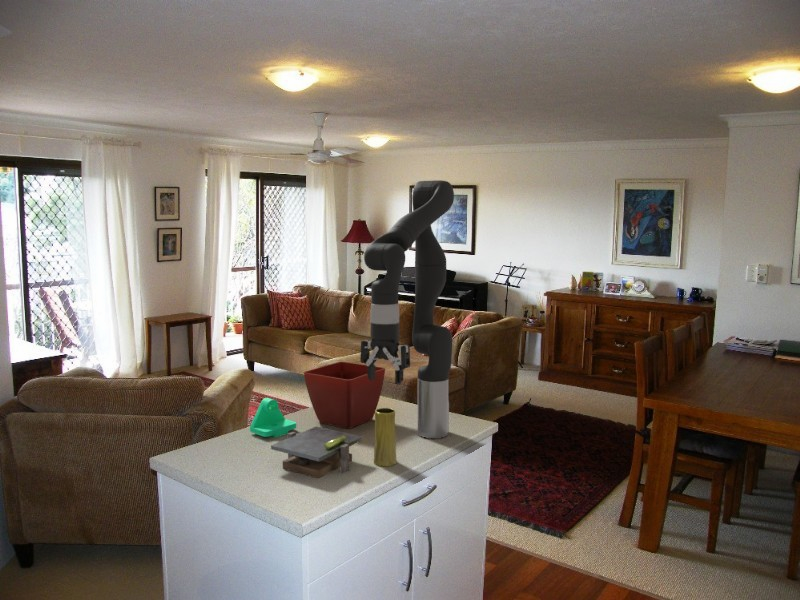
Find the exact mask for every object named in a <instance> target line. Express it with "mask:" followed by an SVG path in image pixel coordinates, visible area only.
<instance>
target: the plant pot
mask: <svg viewBox="0 0 800 600" xmlns="http://www.w3.org/2000/svg"><path fill="white" fill-rule="evenodd" d="M385 373H386V368H385V367H383V366H376V365H375V379H374V380H369V378H368V376H367V365H366V364H364V363H355V362H348V361H338V362H334V363H330V364H327V365H322V366H320V367H316V368H312V369H309V370H305V371H304V372H303V376H304V382H305V386H306V390H307V393H308V398H309V400H310V403H311V406H312V409H313V411H314V413H315V417H316V418H317V420H318V422H319V423H320V424H325V425H330V426H334V427H338V428H344V429H352V428H354V427H356V426H359V425H361V424H364V423H367V422H368V421H372V420H373V418H374V417H375V410H376V409H378V404H379V400H380V397H381V394H382V390H383V384H384V379H385Z"/></svg>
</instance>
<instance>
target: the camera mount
mask: <svg viewBox="0 0 800 600" xmlns="http://www.w3.org/2000/svg"><path fill="white" fill-rule="evenodd" d="M296 428H297V422H296V421H294V420H290V419H287V418H285V417H284V415H283V413H282V411H281V409H280V408H279V402H278V400H275V399H273V398H269V397H264V398H263V399H262V400H261V401H260V403H259V406H258V408H257V410H256V413H255V415H254V417H253V419H252V421H251V424H250V425H249V432H250V433H253V434H255V435H258V436H261V437H264V438H268V437H274V438H278V437H281V436H285V435H288V433H289V431H291V430H295V429H296Z"/></svg>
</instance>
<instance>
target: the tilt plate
mask: <svg viewBox="0 0 800 600" xmlns="http://www.w3.org/2000/svg"><path fill="white" fill-rule="evenodd" d="M361 441H363V436H362V435H357V434H353V433H349V432H344V431H343V432H342V431H338V430H334V429H330V428H325V427H320V426H314V427H312V428H310V429H307V430H305V431H302V432H299V433H296V435H295V436H292V437H290V438H288V437H287V438H285V439H284V440H280V441H279V442H276V443H274V444H272V445H270V450H273V451H276V452H281V453H285V454H287V455H288V454H291V455H295V456H299V457H303V458H307V459H311V460H315V461H321V460H324V459H326V458H328V457H330V456H332V455H334V454H336V453H338V452H340V451H341V446H342V445H344V444H348V445H349V448H350V447H352V446H353V445H355V444H358V443H359V442H361Z"/></svg>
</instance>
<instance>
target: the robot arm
mask: <svg viewBox="0 0 800 600" xmlns="http://www.w3.org/2000/svg"><path fill="white" fill-rule="evenodd" d="M411 198H412V211H411V212H409V213H407V214H405V215H404V216H402V217H401V218H400V219H398V220H397V221H396V223H395V224H394V225H393V226H392V227H391V228H390V229H389V231H387V232H385V233H384V234H382V235H381V236H378V238H376V239H375V240H373V241H372V242H370V243H369V245H368V246H367V247H366V249H365V251H364V256H363V260H364V264H365V266H366V267H367V268H368V269H370V270H371V271H380V272H381V271H382V272H386V273H385V276H384V278H383V279H377V280H375V281H373V282H372V283H371V288H370V289H371V290H370V292H371V293H370V294H371V302H370V305H371V306H370V311H369V312H370V318H369V319H370V339H371V340H370V339H364V340H361V342H360V364H364V365H367V376H368V378H369V380H374V379H375V366H376V365H375V364H376V363H377V361H378V360H382V359H383V360H384V361H389V362H390V364H392V365H393V368H394V369H395V370H394V372H395V373H394V384H395V385H398V386H399V385H402V382H404V370H405V369H408V368H410V367H411V347H410V345H409V344H404V345H403V344H402V345H401V344H400V343H399V339H400V307H399V287H400V283H401V278H402V274H403V271H404V267H405V263H406V254H405V253H406V252H407V251H408V250H409V249H410V248H411V246H412V245H413V244H414V246H415V249H414V252H415V253H414V255H415V256H414V257H415V258H414V278H415V280H414V283H415V284H414V285H415V286H414V287H415V288H414V291H415V292H414V312H413V323H412V332H411V335H412V337H411V339H412V347H413V348H414V351H416V352H417V353H419V354H422V355H426V356H428V362H427V365H424V366H421V367H419V368H418V370H417V421H416V422H417V423H416V424H417V430H416V432H417V433H416V434H417V435H418V436H419V437H421V436H422V437H421V438H424V437H426V439H431V438H435V439H441V437H443V438H445V437H444V436H446V437H447V436H448V434H449V430H450V402H449V381H450V380H449V375H450V371H451V369H452V359H453V335H452V332H451V330H450V329H449V328H448V327H446V326H443V325H439V324H438V325H437V324H434V315H435V312H434V311H435V306H436V303H437V301H438V298H439V297H440V295H441V293H442V292H443V289H444V287H445V285H446V282H447V257H446V254H445V252H444V249H443V248H442V246H441V245H440V243H439V241H438V239H437V237H436V236H435V233H434V232H433V229H432V224H433V223H435V222H436V221H437V220H439V218H442V216H444V215H445V214H446V213H447V212H448V211H449V210H450V209H451V208H452V207H453V204H454V201H455V200H454V199H455V191H454V188H453V186H452V184H451V183H450V182H448V181H446V180H420V181H417V182H416V183H415V185H414V186H413V189H412V197H411ZM371 350H372V352H371V353H370V351H371ZM399 353H400V354H399Z"/></svg>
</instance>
